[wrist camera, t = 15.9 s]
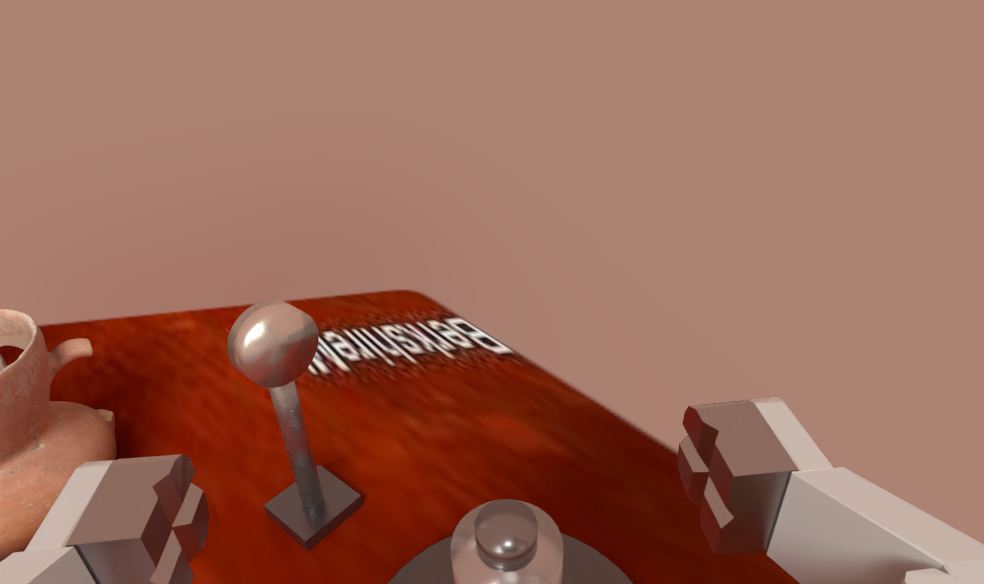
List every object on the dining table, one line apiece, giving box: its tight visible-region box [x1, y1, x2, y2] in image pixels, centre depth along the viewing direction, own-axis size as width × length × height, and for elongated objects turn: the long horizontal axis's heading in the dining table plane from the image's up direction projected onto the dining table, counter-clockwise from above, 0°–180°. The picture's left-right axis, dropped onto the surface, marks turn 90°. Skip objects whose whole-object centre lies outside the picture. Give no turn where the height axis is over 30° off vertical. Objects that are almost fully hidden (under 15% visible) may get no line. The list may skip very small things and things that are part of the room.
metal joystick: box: [227, 299, 363, 550], centre depth 42 cm, size 5×5×18 cm
